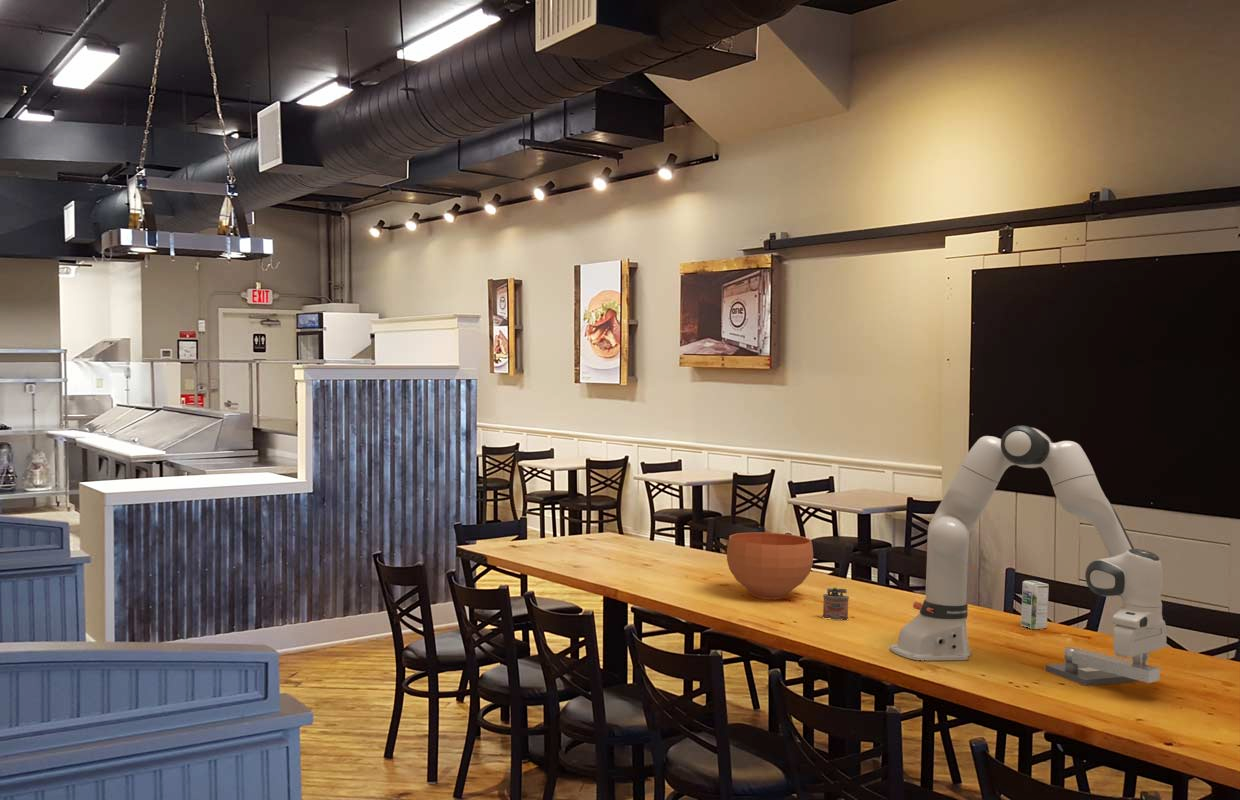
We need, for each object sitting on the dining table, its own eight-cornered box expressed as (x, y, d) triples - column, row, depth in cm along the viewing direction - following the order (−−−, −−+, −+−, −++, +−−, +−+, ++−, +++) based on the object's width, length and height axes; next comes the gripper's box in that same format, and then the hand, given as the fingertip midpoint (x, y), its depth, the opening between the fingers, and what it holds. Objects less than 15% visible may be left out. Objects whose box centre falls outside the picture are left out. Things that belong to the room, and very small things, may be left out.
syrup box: (1019, 626, 320) (1021, 580, 320) (1034, 625, 322) (1036, 580, 322) (1033, 630, 315) (1034, 584, 315) (1047, 629, 317) (1049, 583, 317)
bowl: (793, 609, 335) (795, 548, 334) (711, 598, 350) (713, 539, 349) (823, 594, 361) (824, 537, 360) (745, 584, 376) (747, 529, 375)
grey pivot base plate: (1085, 685, 256) (1086, 669, 256) (1045, 670, 269) (1046, 654, 269) (1157, 679, 264) (1158, 663, 264) (1115, 664, 277) (1115, 649, 277)
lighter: (822, 619, 322) (823, 588, 322) (822, 616, 326) (823, 586, 325) (848, 621, 320) (849, 589, 320) (848, 618, 324) (849, 587, 323)
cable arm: (1060, 659, 263) (1060, 648, 263) (1071, 657, 266) (1071, 646, 266) (1148, 683, 244) (1149, 670, 244) (1159, 680, 246) (1160, 668, 246)
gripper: (1149, 608, 261) (1147, 661, 261) (1108, 617, 248) (1107, 673, 249) (1174, 612, 256) (1172, 666, 256) (1134, 622, 243) (1132, 679, 244)
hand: (1140, 670), depth 252 cm, fingers closed
